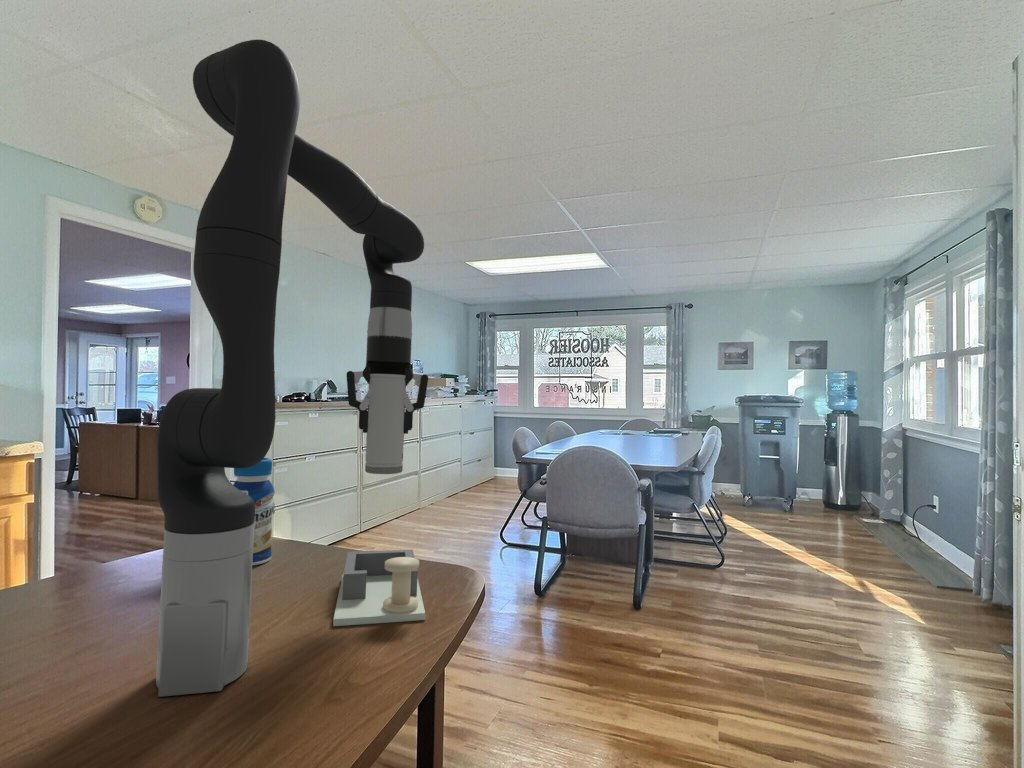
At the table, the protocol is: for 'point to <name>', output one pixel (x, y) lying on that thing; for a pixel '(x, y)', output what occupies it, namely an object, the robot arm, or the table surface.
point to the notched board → (379, 589)
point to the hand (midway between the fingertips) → (385, 432)
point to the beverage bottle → (259, 505)
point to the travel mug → (385, 419)
